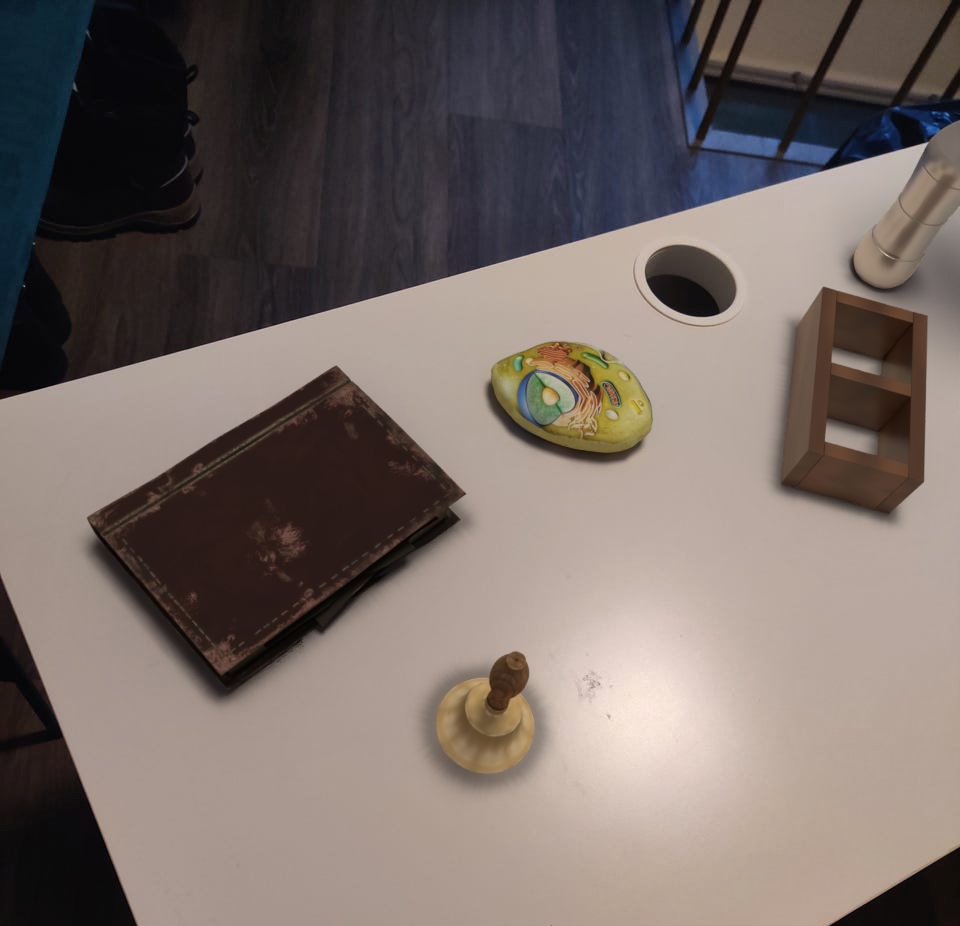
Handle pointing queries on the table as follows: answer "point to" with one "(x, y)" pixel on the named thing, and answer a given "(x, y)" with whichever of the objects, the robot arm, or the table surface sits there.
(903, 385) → the shelf
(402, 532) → the diary
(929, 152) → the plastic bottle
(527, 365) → the cell model
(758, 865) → the table surface
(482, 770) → the hand bell
